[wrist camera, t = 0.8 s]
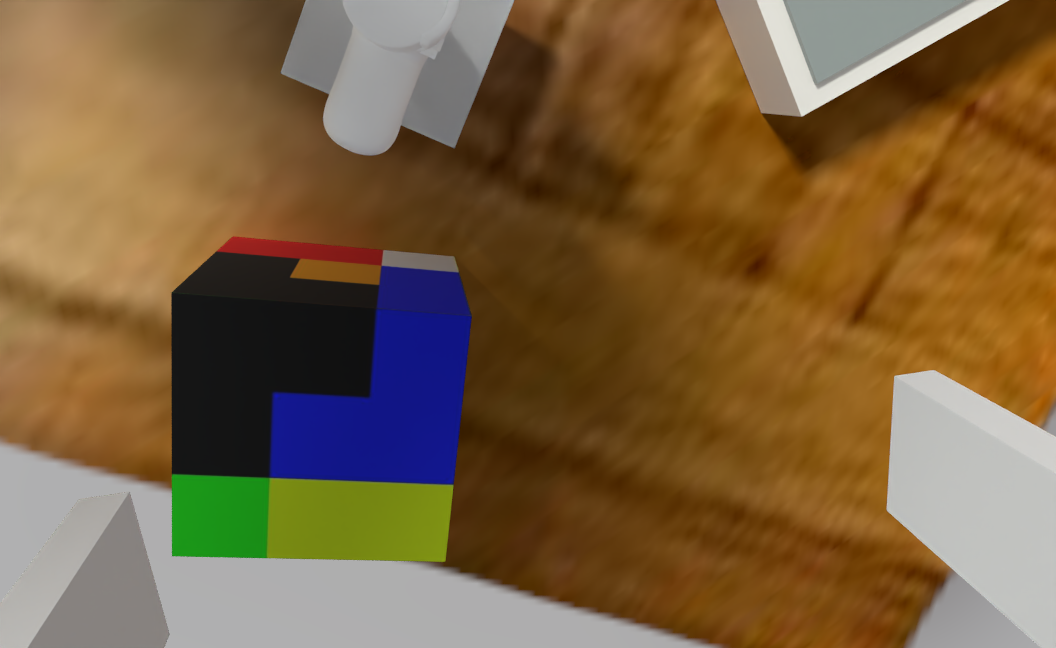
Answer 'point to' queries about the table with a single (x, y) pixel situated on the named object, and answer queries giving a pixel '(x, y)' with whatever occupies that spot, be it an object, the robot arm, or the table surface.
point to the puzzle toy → (316, 402)
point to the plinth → (832, 43)
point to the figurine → (395, 65)
